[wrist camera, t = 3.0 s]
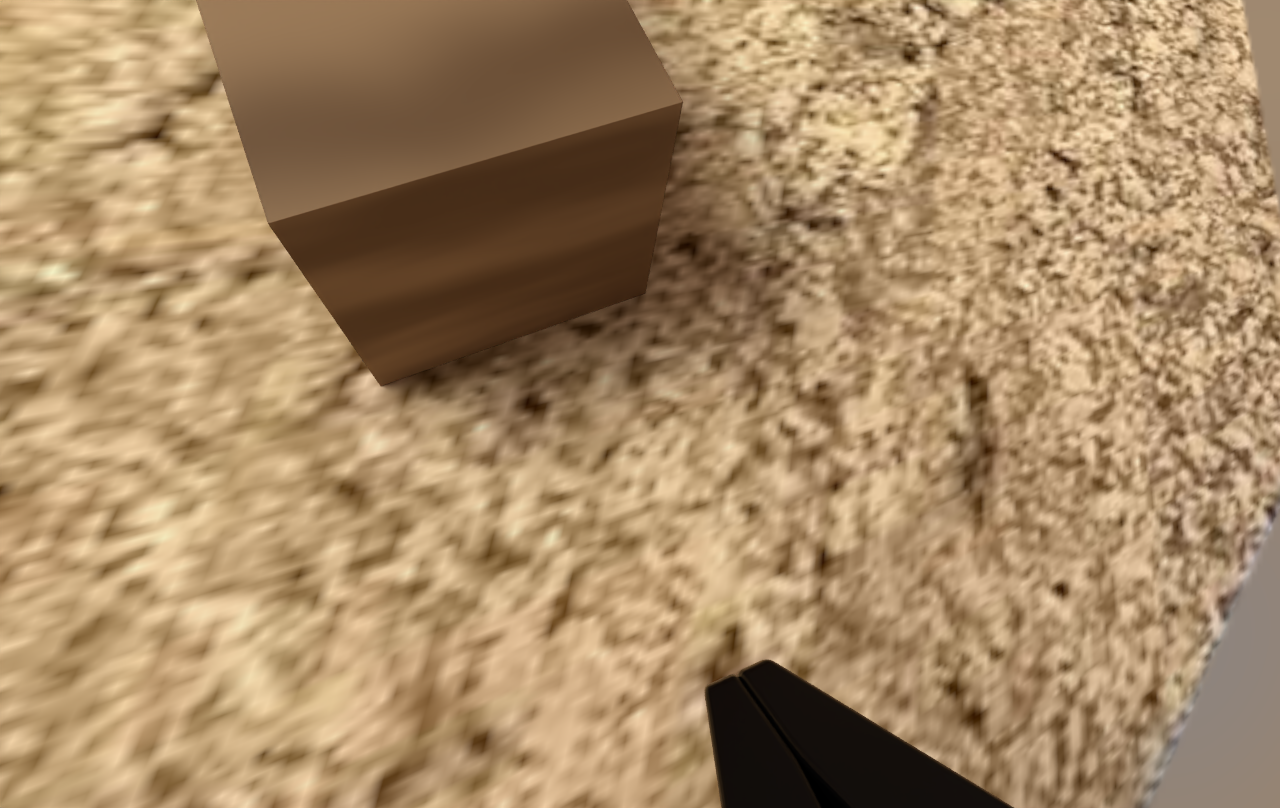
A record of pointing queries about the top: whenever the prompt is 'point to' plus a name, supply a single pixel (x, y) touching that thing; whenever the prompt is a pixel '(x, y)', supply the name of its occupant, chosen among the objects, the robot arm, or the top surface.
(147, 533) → the top surface
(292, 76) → the walnut block
